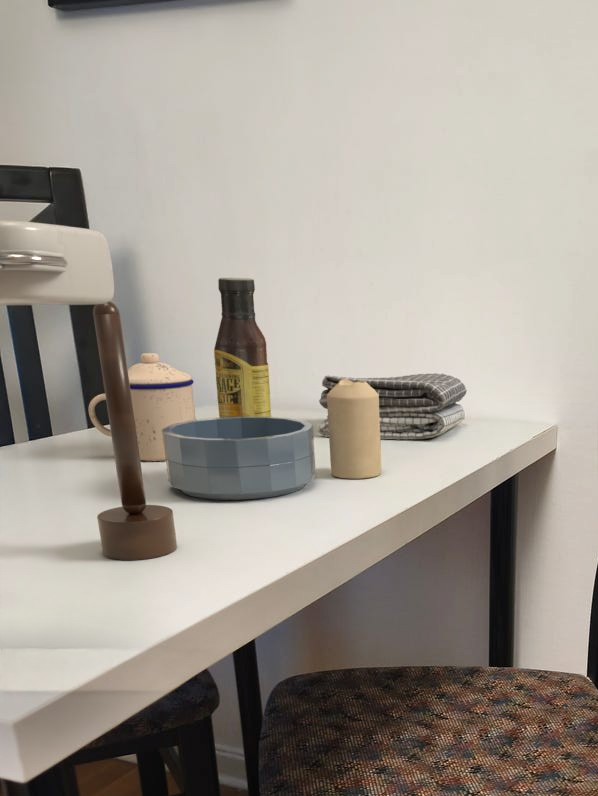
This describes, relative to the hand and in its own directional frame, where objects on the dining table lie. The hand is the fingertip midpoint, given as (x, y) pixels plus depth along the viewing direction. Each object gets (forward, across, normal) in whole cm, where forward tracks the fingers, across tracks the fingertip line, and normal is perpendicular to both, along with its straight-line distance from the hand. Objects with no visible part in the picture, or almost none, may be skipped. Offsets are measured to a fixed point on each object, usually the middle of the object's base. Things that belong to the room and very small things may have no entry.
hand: (0, 274), depth 53 cm
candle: (+43, -10, +19) cm, 48 cm away
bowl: (+35, 0, +19) cm, 40 cm away
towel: (+72, -8, +18) cm, 74 cm away
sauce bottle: (+54, +7, +18) cm, 58 cm away
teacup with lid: (+49, +17, +18) cm, 55 cm away
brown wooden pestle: (+12, 0, +20) cm, 23 cm away
